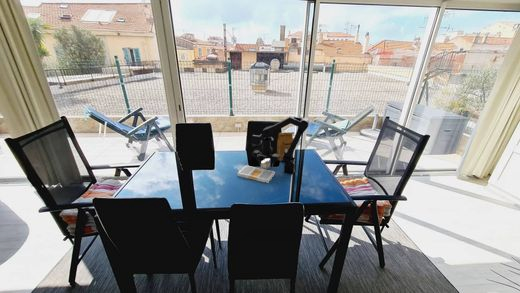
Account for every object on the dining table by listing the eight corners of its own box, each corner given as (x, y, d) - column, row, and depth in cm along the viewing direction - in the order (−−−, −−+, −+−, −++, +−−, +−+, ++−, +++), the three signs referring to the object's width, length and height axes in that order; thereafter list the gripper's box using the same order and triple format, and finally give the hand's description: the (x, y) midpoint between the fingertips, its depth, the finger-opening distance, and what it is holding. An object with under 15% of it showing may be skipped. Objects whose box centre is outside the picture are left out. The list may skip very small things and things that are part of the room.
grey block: (270, 166, 158) (270, 159, 156) (266, 171, 152) (266, 163, 149) (265, 165, 160) (265, 158, 157) (260, 170, 153) (260, 162, 151)
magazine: (273, 156, 170) (265, 140, 164) (258, 163, 171) (249, 147, 165) (272, 154, 173) (264, 138, 168) (257, 161, 175) (249, 145, 169)
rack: (274, 174, 148) (274, 171, 147) (268, 183, 137) (268, 180, 136) (245, 167, 156) (245, 165, 155) (237, 175, 145) (237, 173, 144)
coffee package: (294, 161, 166) (296, 134, 158) (278, 162, 165) (279, 134, 156) (290, 156, 175) (292, 130, 167) (275, 156, 174) (277, 130, 165)
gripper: (282, 144, 152) (281, 164, 158) (258, 140, 159) (258, 159, 165) (277, 149, 143) (276, 170, 149) (251, 145, 150) (251, 165, 156)
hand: (265, 166), depth 155 cm, fingers open, 9 cm apart
